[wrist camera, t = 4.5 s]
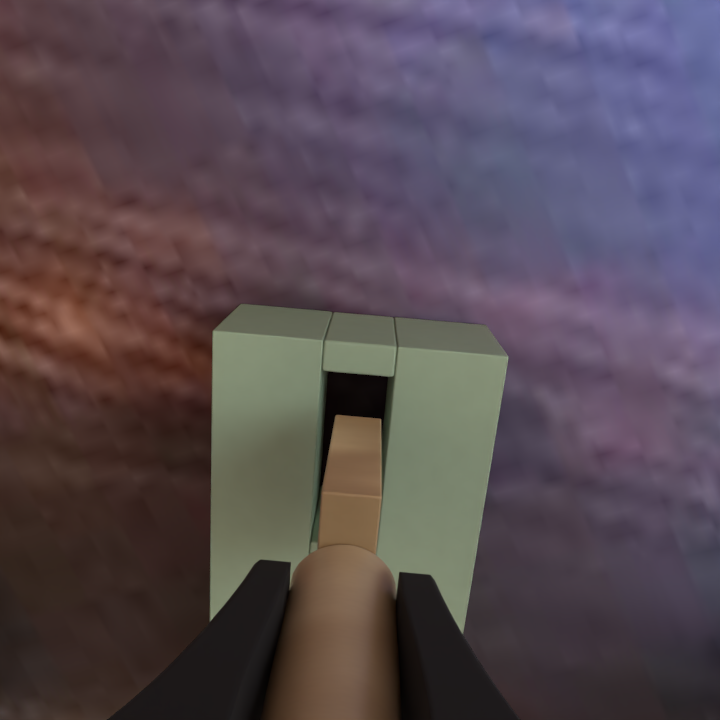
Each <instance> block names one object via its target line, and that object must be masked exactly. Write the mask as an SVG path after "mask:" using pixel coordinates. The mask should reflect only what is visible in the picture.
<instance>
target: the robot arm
mask: <svg viewBox="0 0 720 720" xmlns="http://www.w3.org/2000/svg"><path fill="white" fill-rule="evenodd" d="M290 570H291V562H284V561H273V560H262V559H260V560H259V561H258V562H256V563H255V564H254V565H253V567H252V568H251V570H250V571H249V573H248V574H247V576H246V577H245V579H244V580H243V581H242V583H241V584H240V585H239V587H238V588H237V589H236V591H235V592H234V593H233V595H232V596H231V597H230V598H229V600H228V601H227V602H226V603H225V605H224V606H223V607H222V608H221V609H220V611H219V612H218V613H217V614H216V615H215V616H214V618H213V619H212V620H211V621H210V622H209V624H208V625H207V626H206V627H205V628H204V629H203V630H202V632H201V633H200V634H199V635H198V636H197V637H196V638H195V639H194V640H193V641H192V642H191V643H190V644H189V645H188V646H187V647H186V649H185V650H184V651H183V652H182V653H181V654H180V655H179V656H178V657H177V658H176V659H175V660H174V661H173V662H172V663H171V664H170V665H169V666H168V667H167V668H166V669H165V670H164V671H163V672H162V673H161V674H160V675H159V676H158V677H157V678H155V679H154V680H153V681H152V682H151V683H150V684H149V685H148V686H147V687H146V688H144V689H143V690H142V691H141V692H140V693H139V694H138V695H136V696H135V697H134V698H133V699H132V700H131V701H130V702H128V703H127V704H126V705H125V706H124V707H122V708H121V709H120V710H119V711H117V712H116V713H115V714H114V715H112V716H111V717H110V718H109V719H107V720H260V718H261V713H262V709H263V704H264V700H265V695H266V691H267V686H268V681H269V677H270V672H271V668H272V663H273V659H274V654H275V650H276V646H277V642H278V638H279V635H280V631H281V627H282V623H283V618H284V613H285V609H286V604H287V599H288V595H289V587H290ZM396 615H397V639H398V651H399V666H400V689H401V714H402V720H520V719H519V717H518V716H517V715H516V713H515V712H514V711H513V709H512V708H511V707H510V705H509V704H508V703H507V701H506V700H505V699H504V697H503V696H502V694H501V693H500V691H499V690H498V689H497V687H496V686H495V684H494V683H493V681H492V680H491V679H490V677H489V676H488V674H487V673H486V671H485V670H484V668H483V667H482V665H481V663H480V662H479V660H478V659H477V657H476V655H475V654H474V652H473V651H472V649H471V647H470V646H469V644H468V642H467V641H466V639H465V637H464V636H463V634H462V632H461V631H460V629H459V627H458V625H457V624H456V622H455V620H454V618H453V616H452V614H451V612H450V611H449V609H448V607H447V605H446V603H445V601H444V599H443V597H442V595H441V593H440V590H439V588H438V586H437V584H436V582H435V580H434V579H433V577H432V576H431V575H429V574H418V573H407V572H399V579H398V587H397V595H396Z"/></svg>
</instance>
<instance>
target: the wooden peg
mask: <svg viewBox="0 0 720 720" xmlns="http://www.w3.org/2000/svg"><path fill="white" fill-rule="evenodd" d="M381 502H382V449H381V419H378V418H367V417H356V416H345V415H336V416H335V420H334V426H333V431H332V437H331V442H330V448H329V453H328V459H327V464H326V469H325V475H324V480H323V486H322V491H321V503H320V517H319V530H318V544H317V550H316V551H314V552H312V553H310V554H309V555H308V556H306V557H305V558H304V559H303V560H302V561H301V562H300V563H299V564H298V566H297V567H296V568H295V570H294V572H293V574H292V577H291V581H290V587H289V595H288V599H287V604H286V609H285V613H284V618H283V623H282V627H281V631H280V635H279V638H278V642H277V646H276V650H275V654H274V659H273V663H272V668H271V672H270V677H269V681H268V686H267V691H266V695H265V700H264V704H263V709H262V713H261V718H260V720H402V714H401V689H400V666H399V651H398V639H397V615H396V595H397V590H396V583H395V580H394V577H393V575H392V573H391V571H390V569H389V568H388V566H387V565H386V564H385V563H384V562H383V561H382V560H381V559H380V558H379V557H378V556H376V548H377V539H378V530H379V520H380V511H381Z"/></svg>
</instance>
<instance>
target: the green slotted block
mask: <svg viewBox="0 0 720 720" xmlns="http://www.w3.org/2000/svg"><path fill="white" fill-rule="evenodd" d="M507 364H508V355H507V354H506V353H505V351H504V350H503V348H502V347H501V346H500V344H499V343H498V341H497V340H496V339H495V337H494V336H493V334H492V333H491V332H490V330H489V329H488V327H487V326H486V325H479V324H468V323H456V322H445V321H433V320H422V319H410V318H399V317H395V318H394V319H393V318H392V317H385V316H373V315H362V314H350V313H339V312H334V313H333V314H332V312H330V311H319V310H307V309H296V308H285V307H273V306H262V305H250V304H240V305H239V306H238V307H237V308H236V309H235V310H234V311H233V312H232V313H231V314H230V315H229V316H228V317H227V318H225V319H224V320H223V321H222V322H221V323H220V324H219V325H218V326H217V327H216V328H215V329H214V330H213V332H212V427H211V532H210V621H211V620H212V619H213V618H214V616H215V615H216V614H217V613H218V612H219V611H220V609H221V608H222V607H223V606H224V605H225V603H226V602H227V601H228V600H229V598H230V597H231V596H232V595H233V593H234V592H235V591H236V589H237V588H238V587H239V585H240V584H241V583H242V581H243V580H244V579H245V577H246V576H247V574H248V573H249V571H250V570H251V568H252V567H253V565H254V564H255V563H256V562H258V561H259V560H260V559H262V560H273V561H284V562H291V570H290V581H291V577H292V574H293V572H294V570H295V568H296V567H297V566H298V564H299V563H300V562H301V561H302V560H303V559H304V558H305V557H306V556H308V555H309V554H310V553H312V552H314V551H316V550H317V544H318V530H319V517H320V503H321V491H322V486H323V485H322V486H321V487H320V481H321V467H322V453H323V439H324V424H325V410H326V396H327V382H328V371H329V372H341V373H352V374H363V375H375V376H386V377H388V383H387V392H386V402H385V412H384V422H383V431H382V441H381V449H382V502H381V511H380V520H379V530H378V539H377V548H376V556H378V557H379V558H380V559H381V560H382V561H383V562H384V563H385V564H386V565H387V566H388V568H389V569H390V571H391V573H392V575H393V577H394V580H395V583H396V590H397V587H398V579H399V572H407V573H418V574H429V575H431V576H432V577H433V579H434V580H435V582H436V584H437V586H438V588H439V590H440V593H441V595H442V597H443V599H444V601H445V603H446V605H447V607H448V609H449V611H450V612H451V614H452V616H453V618H454V620H455V622H456V624H457V625H458V627H459V629H460V631H461V632H462V634H463V631H464V625H465V619H466V613H467V607H468V601H469V595H470V589H471V582H472V576H473V570H474V564H475V558H476V552H477V546H478V540H479V534H480V528H481V522H482V516H483V510H484V503H485V497H486V491H487V485H488V479H489V473H490V467H491V461H492V455H493V449H494V443H495V437H496V431H497V424H498V418H499V412H500V406H501V400H502V394H503V388H504V382H505V376H506V370H507Z"/></svg>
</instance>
